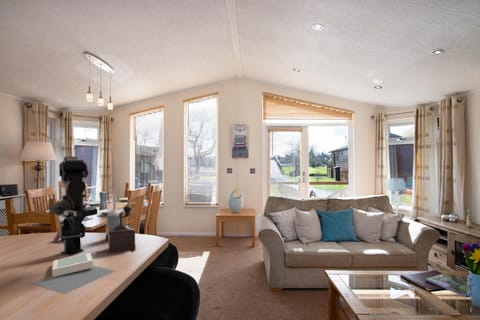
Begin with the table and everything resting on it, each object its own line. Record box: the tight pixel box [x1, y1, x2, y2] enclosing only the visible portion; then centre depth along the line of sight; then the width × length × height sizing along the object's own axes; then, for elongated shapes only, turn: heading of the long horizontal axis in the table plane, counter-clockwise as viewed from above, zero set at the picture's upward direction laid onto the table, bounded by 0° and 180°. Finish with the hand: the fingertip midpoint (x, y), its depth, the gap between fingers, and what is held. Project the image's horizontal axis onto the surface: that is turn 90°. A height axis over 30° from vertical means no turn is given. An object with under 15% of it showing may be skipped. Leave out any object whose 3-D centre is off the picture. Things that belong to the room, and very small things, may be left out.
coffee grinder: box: [107, 205, 136, 254], centre depth 125 cm, size 16×11×18 cm
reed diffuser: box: [105, 189, 122, 242], centre depth 139 cm, size 8×8×25 cm
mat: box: [31, 265, 116, 295], centre depth 92 cm, size 17×18×1 cm
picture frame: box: [51, 252, 94, 277], centre depth 100 cm, size 3×12×13 cm
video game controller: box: [52, 229, 64, 243], centre depth 137 cm, size 10×5×7 cm, turn 84°
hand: (75, 232), depth 106 cm, fingers closed
